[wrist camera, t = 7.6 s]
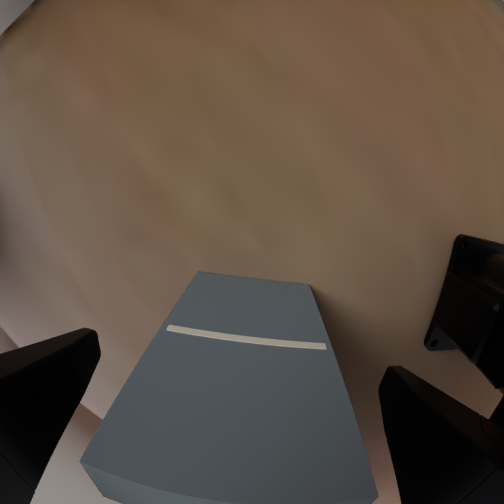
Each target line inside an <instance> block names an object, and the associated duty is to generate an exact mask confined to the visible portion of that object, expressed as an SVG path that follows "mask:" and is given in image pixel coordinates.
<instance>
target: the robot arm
mask: <svg viewBox="0 0 504 504" xmlns="http://www.w3.org/2000/svg"><path fill="white" fill-rule="evenodd" d="M463 242H464V246H463V247H462V243H463ZM433 340H434V341H433ZM432 341H433V342H432ZM431 342H432V343H431ZM424 345H425V347H426V348H427V349H428V350H430V351H436V350H453V349H459V350H460V351H461V352H462V353H463V354H464V355H465V356H466V357H467V359H468V360H469V361H470V362H471V363H473V364H475V366H476V367H477V368H478V369H479V370H480V371H481V372H482V373H483V375H484V376H485V377H486V378H487V379H488V380H489V382H490V383H491V384H492V385H493V386H494V387H495V389H499V390H500V392H501V393H502V394H503V397H502V399H501V400H500V402H499V404H498V405H497V407H496V409H495V410H494V412H493V413H492V415H491V416H490V418H489V419H487V418H485V417H483V416H482V415H480V416H479V414H478V413H477V412H475V411H473V410H472V409H470V408H468V407H467V406H465V405H463V404H462V403H460V402H458V401H457V400H455V399H453V398H452V397H450V396H449V395H447V394H445V393H444V392H442V391H440V390H439V389H437V388H436V387H434V386H432V385H431V384H429V383H427V382H426V381H424V380H423V379H421V378H419V377H418V376H416V375H415V374H413V373H411V372H410V371H408V370H407V369H405V368H403V367H402V366H389V367H388V368H387V369H386V372H385V374H384V376H383V378H382V381H381V383H380V385H379V389H378V394H379V399H380V405H381V411H382V418H383V424H384V430H385V435H386V439H387V443H388V446H389V450H390V454H391V458H392V462H393V467H394V471H395V475H396V480H397V484H398V489H399V494H400V499H401V504H504V244H501V243H497V242H493V241H489V240H485V239H481V238H477V237H473V236H469V235H464V234H460V235H458V236H457V237H456V239H455V242H454V246H453V250H452V254H451V258H450V262H449V266H448V270H447V274H446V277H445V281H444V284H443V288H442V291H441V294H440V297H439V301H438V304H437V307H436V310H435V312H434V315H433V318H432V321H431V324H430V326H429V329H428V332H427V334H426V337H425V339H424ZM100 356H101V351H100V346H99V340H98V335H97V332H96V331H95V330H92V329H89V328H82V329H79V330H75V331H72V332H69V333H66V334H63V335H60V336H57V337H53V338H50V339H47V340H44V341H41V342H38V343H34V344H31V345H28V346H25V347H21V348H18V349H15V350H12V351H8V352H5V353H2V354H0V504H30V502H31V500H32V498H33V495H34V493H35V491H34V490H35V489H36V488H37V486H38V484H39V481H40V479H41V477H42V475H43V473H44V471H45V468H46V466H47V464H48V462H49V460H50V458H51V456H52V454H53V452H54V450H55V448H56V446H57V444H58V442H59V440H60V438H61V436H62V434H63V432H64V430H65V429H66V427H67V425H68V423H69V421H70V419H71V417H72V416H73V414H74V412H75V410H76V408H77V406H78V405H79V403H80V401H81V399H82V397H83V395H84V393H85V391H86V389H87V387H88V385H89V382H90V380H91V378H92V375H93V373H94V371H95V369H96V366H97V364H98V362H99V360H100Z"/></svg>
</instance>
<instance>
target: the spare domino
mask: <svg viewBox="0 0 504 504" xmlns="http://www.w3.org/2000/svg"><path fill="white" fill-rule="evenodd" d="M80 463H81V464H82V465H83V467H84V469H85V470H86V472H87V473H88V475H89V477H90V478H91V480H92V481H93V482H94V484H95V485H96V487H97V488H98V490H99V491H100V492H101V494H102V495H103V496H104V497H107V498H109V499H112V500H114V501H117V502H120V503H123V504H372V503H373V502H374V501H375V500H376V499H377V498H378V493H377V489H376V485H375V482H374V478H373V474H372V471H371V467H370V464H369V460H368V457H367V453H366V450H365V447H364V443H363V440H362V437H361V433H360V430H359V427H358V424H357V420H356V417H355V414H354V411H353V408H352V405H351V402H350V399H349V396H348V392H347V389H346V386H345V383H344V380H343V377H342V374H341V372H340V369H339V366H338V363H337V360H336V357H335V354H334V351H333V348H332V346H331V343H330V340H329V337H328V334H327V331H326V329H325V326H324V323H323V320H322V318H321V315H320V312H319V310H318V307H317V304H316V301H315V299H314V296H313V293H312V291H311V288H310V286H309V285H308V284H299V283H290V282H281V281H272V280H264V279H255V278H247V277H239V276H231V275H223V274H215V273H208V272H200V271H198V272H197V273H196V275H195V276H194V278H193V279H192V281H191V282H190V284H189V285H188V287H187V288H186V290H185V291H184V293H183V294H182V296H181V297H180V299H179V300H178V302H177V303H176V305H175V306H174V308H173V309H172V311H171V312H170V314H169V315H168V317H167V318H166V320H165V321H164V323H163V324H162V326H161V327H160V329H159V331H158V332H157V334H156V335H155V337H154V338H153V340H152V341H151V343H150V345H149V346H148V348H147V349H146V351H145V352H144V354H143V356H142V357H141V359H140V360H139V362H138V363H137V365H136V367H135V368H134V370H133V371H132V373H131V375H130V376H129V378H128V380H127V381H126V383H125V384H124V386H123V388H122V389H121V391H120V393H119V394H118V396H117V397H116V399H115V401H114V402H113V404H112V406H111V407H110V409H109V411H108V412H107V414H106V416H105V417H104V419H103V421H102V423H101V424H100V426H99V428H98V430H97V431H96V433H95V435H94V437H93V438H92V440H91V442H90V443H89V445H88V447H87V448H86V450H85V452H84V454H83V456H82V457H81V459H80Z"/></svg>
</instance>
